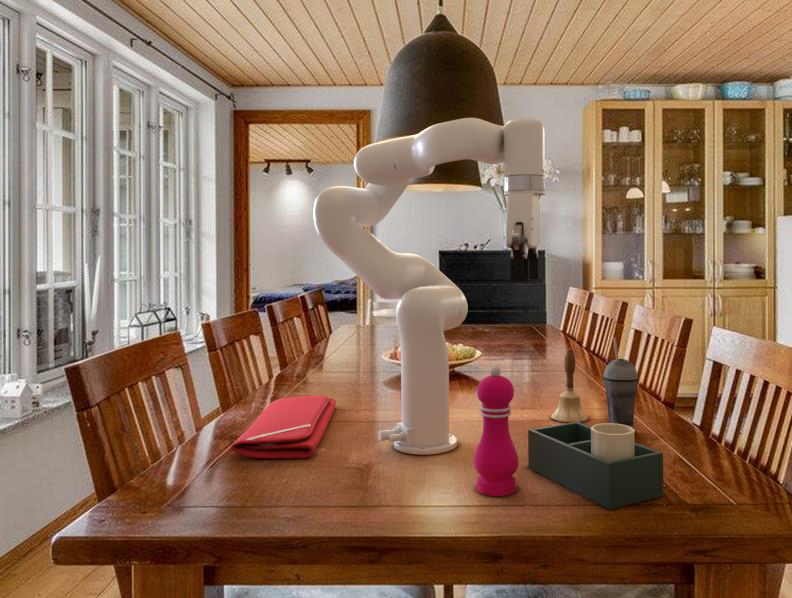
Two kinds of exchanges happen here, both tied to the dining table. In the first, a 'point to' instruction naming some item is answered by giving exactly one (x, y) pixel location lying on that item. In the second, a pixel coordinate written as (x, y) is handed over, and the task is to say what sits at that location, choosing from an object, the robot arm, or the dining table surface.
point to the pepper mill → (495, 437)
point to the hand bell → (569, 396)
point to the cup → (612, 441)
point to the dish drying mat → (287, 428)
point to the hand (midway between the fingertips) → (525, 280)
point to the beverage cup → (620, 390)
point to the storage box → (594, 466)
